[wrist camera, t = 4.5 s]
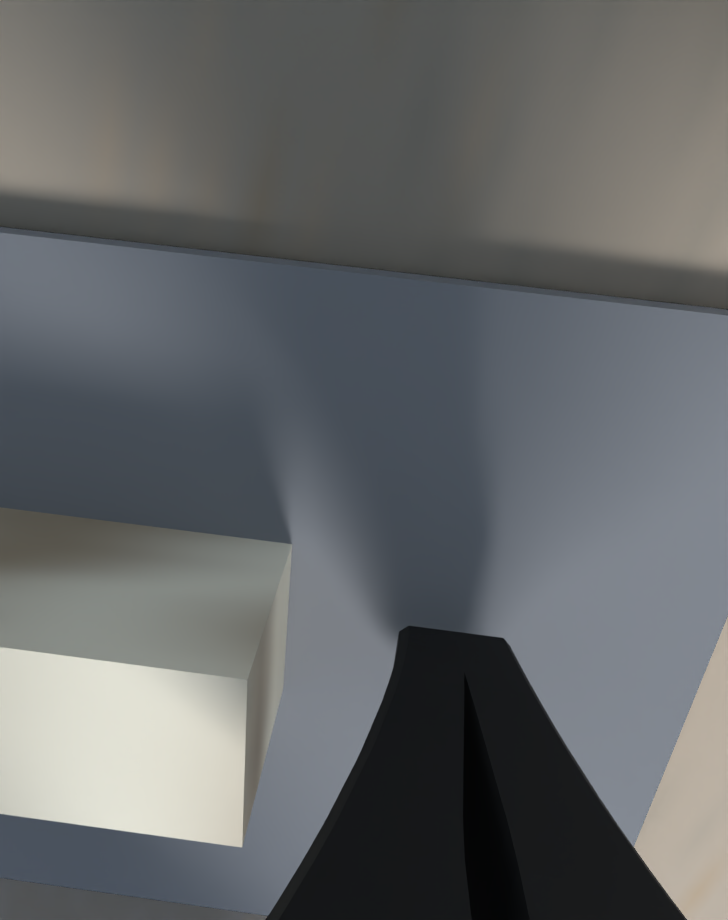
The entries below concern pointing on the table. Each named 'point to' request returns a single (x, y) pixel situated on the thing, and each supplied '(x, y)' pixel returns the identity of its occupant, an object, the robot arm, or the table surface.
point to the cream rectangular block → (137, 674)
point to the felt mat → (379, 502)
